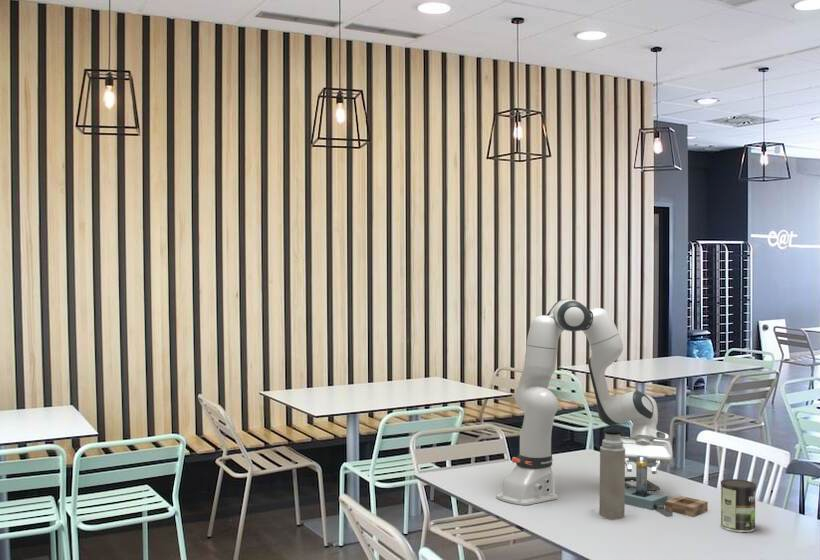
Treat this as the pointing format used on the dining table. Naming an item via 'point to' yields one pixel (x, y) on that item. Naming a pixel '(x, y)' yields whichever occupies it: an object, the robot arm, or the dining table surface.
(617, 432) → the thermos bottle
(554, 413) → the robot arm
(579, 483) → the dining table surface
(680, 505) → the socket block
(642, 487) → the gray gold-collared cylinder
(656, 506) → the drift key
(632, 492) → the teal flat box
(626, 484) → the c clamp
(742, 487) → the coffee can
